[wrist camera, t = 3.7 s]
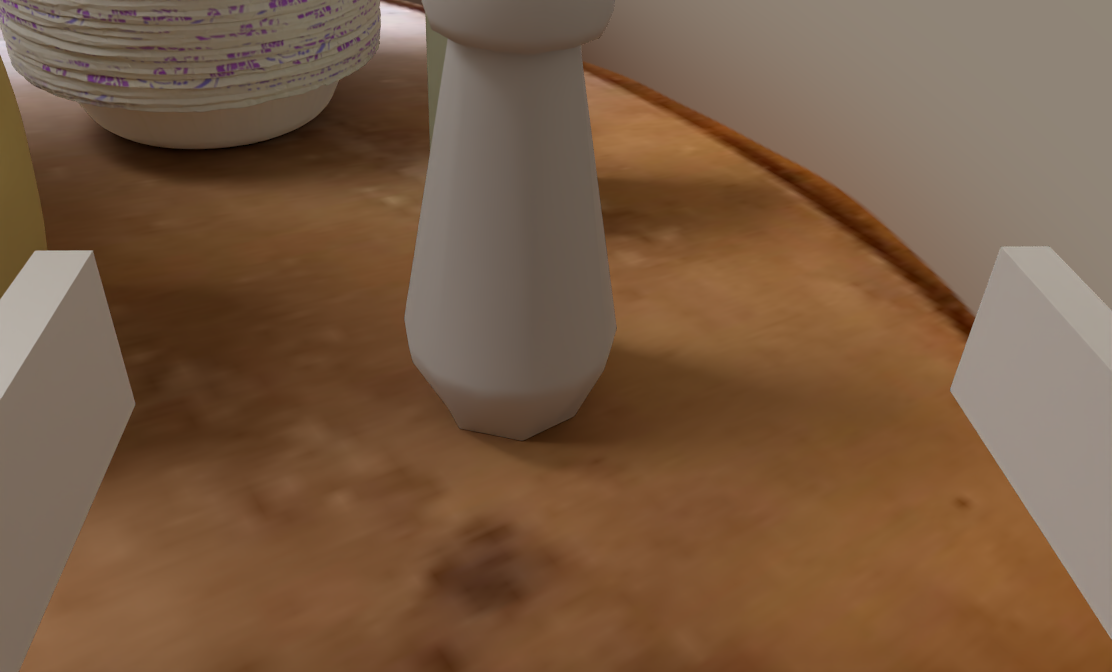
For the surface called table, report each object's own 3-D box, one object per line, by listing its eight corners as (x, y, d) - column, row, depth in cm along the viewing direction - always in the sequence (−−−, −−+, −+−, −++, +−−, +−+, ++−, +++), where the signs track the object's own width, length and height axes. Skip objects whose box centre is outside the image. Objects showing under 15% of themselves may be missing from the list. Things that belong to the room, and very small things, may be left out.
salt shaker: (401, 342, 30) (374, -114, 22) (582, 326, 31) (614, -113, 23) (420, 473, 25) (392, -46, 17) (631, 449, 26) (692, -48, 19)
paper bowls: (395, 176, 39) (384, -27, 34) (-14, 194, 36) (-87, -24, 31) (380, 46, 51) (370, -117, 46) (72, 52, 48) (29, -120, 43)
